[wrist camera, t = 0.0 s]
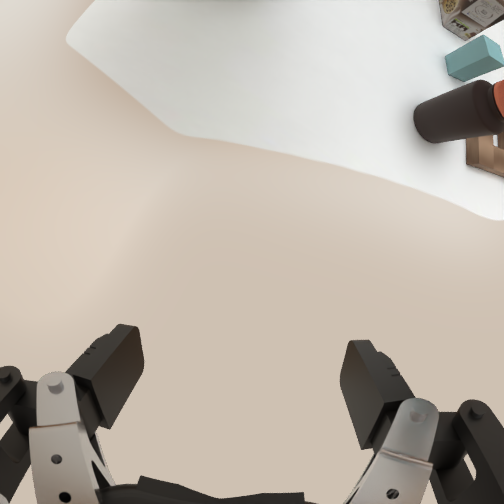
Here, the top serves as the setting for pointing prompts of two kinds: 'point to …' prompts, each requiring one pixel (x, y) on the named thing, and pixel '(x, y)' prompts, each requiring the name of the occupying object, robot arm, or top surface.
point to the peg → (474, 59)
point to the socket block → (486, 153)
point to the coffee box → (470, 15)
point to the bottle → (462, 113)
